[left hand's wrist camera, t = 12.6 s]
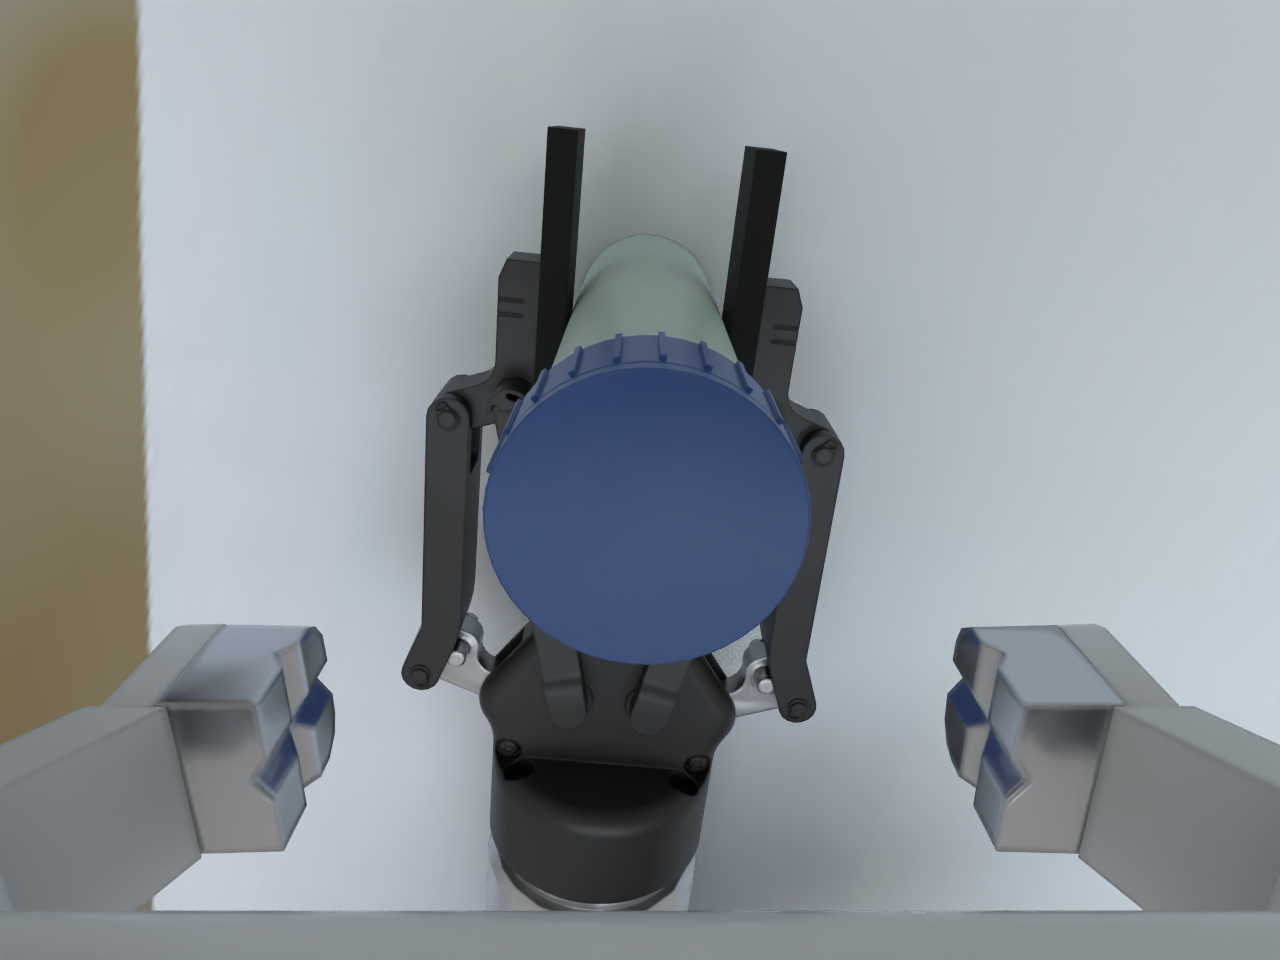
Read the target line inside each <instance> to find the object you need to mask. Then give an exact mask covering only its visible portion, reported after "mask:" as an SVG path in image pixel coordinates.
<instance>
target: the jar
mask: <svg viewBox="0 0 1280 960" xmlns="http://www.w3.org/2000/svg"><path fill="white" fill-rule="evenodd" d="M658 332H665V336H668V337H674V338H679V339H684V340H688V341H691V342H694V343H697V344H699V343H700V341H704V342H706V343H707V346H708V348H709V349H712V350H714V351H716V352H718V353H720V354H722V355H723V356H725V357H726V358H728V359H729V360H731V361H733V362H734V363H736V362H737V361H738V360H737V357H736V355H735V352H734V349H733V347H732V344H731V342H730V339H729V336H728V334H727V331H726V329H725V326H724V323H723V321H722V318H721V316H720V313H719V310H718V308H717V305H716V303H715V300H714V297H713V295H712V292H711V290H710V287H709V284H708V282H707V279H706V277H705V274H704V272H703V270H702V268H701V266H700V265H699V263H698V262H697V260H696V259H695V258H694V257H693V255H692V254H691V253H690V252H688V251H687V250H686V249H685V248H684V247H682V246H681V245H679V244H678V243H676V242H674V241H672V240H670V239H667V238H664V237H660V236H655V235H636V236H631V237H627V238H624V239H622V240H619V241H617V242H615V243H613V244H612V245H610V246H609V247H607V248H606V249H605V250H604V251H603V252H602V253H600V254H599V255H598V257H597V258H596V259H595V260H594V262H593V263H592V265H591V266H590V268H589V270H588V272H587V274H586V277H585V279H584V282H583V285H582V287H581V290H580V293H579V295H578V298H577V301H576V304H575V306H574V309H573V312H572V314H571V317H570V320H569V322H568V325H567V328H566V330H565V333H564V336H563V339H562V341H561V344H560V347H559V349H558V352H557V355H556V357H555V360H554V363H553V366H552V367H554V366H555V365H556V364H558V363H559V362H561V361H562V360H564V359H565V358H567V357H568V356H570V355H572V354H573V353H574V350H575V348H576V347H578V346H581V347H582V349H584V348H586V347H588V346H591V345H594V344H597V343H599V342H602V341H605V340H610V339H615V334H619V333H622V337H624V336H636V335H658Z"/></svg>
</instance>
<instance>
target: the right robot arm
mask: <svg viewBox="0 0 1280 960" xmlns="http://www.w3.org/2000/svg"><path fill="white" fill-rule="evenodd" d="M584 140H585V129H582V128H573V127H564V126H551V127H548V133H547V151H546V169H545V187H544V205H543V223H542V242H541V254H534V253H524V252H513V253H512V254H511V255H510V256H509V257H508V258H507V260H506V262H505V264H504V266H503V269H502V271H501V273H500V275H499V281H498V308H497V312H498V314H497V334H496V361H495V367H493V368H492V369H490V370H488V371H486V372H482V373H478V374H474V375H470V376H468V375H465V374H464V375H456V376H454V377H453V378H451V379H450V380H449V381H448V382H447V384H446V385H445V386H444V387H443V389H442V390H441V391H440V393H439V394H438V395H437V397H436V398H435V400H434V401H433V403H432V404H431V405H430V407H429V408H428V411H427V415H426V453H425V497H424V542H423V586H422V624H421V626H420V628H419V631H418V633H417V635H416V637H415V640H414V642H413V644H412V646H411V649H410V651H409V653H408V655H407V658H406V660H405V662H404V665H403V667H402V672H401V674H402V678H403V680H404V681H405V682H406V684H407V685H409V686H411V687H412V688H415V689H419V690H425V689H429V688H431V687H433V686H435V684H436V683H437V682H438V680H439V679H442V680H444V681H447V682H449V683H452V684H454V685H457V686H459V687H462V688H464V689H467V690H469V691H471V692H474V693H476V694H479V699H480V705H481V709H482V711H483V713H484V714H485V716H486V718H487V719H488V721H489V723H490V725H491V727H492V731H493V737H494V742H493V764H492V787H491V809H490V828H491V836H490V840H489V847H488V881H487V911H688V907H689V901H690V896H691V890H692V884H693V878H694V872H695V862H696V850H697V847H698V844H699V838H700V832H701V826H702V820H703V814H704V808H705V802H706V796H707V790H708V784H709V778H710V772H711V766H712V760H713V755H714V752H715V750H716V748H717V746H718V745H719V743H720V742H721V741H722V740H723V739H724V737H725V736H726V735H727V734H728V733H729V732H730V730H731V729H732V727H733V725H734V722H735V717H739V716H744V715H749V714H753V713H758V712H762V711H767V710H772V709H776V708H779V712H780V714H781V716H782V717H783V718H784V719H786V720H787V721H790V722H794V723H795V722H803V721H806V720H808V719H809V718H810V717H812V716H813V714H814V712H815V710H816V701H815V696H814V692H813V688H812V684H811V679H810V675H809V671H808V667H807V662H806V659H807V653H808V648H809V643H810V637H811V632H812V627H813V621H814V616H815V611H816V605H817V600H818V595H819V589H820V584H821V578H822V573H823V568H824V562H825V557H826V552H827V546H828V541H829V536H830V530H831V525H832V520H833V514H834V509H835V504H836V498H837V493H838V488H839V482H840V477H841V471H842V466H843V461H844V448H843V446H842V444H841V442H840V440H839V438H838V436H837V435H836V433H835V431H834V430H833V428H832V427H831V425H830V423H829V422H828V420H827V418H826V417H825V415H824V414H822V413H821V412H820V411H818V410H815V409H807V408H805V407H802V406H800V405H798V404H796V403H794V402H793V401H791V400H790V399H789V398H788V390H789V384H790V378H791V373H792V367H793V361H794V355H795V349H796V342H797V338H798V332H799V331H798V330H799V326H800V320H801V314H802V303H801V299H800V294H799V290H798V288H797V287H796V286H795V285H794V284H793V282H792V281H791V280H786V279H776V278H768V273H769V267H770V260H771V254H772V248H773V241H774V235H775V228H776V222H777V215H778V209H779V202H780V196H781V189H782V183H783V176H784V170H785V163H786V157H787V152H783V151H779V150H775V149H769V148H760V147H750V146H745V153H744V160H743V167H742V174H741V182H740V189H739V196H738V204H737V211H736V218H735V226H734V233H733V240H732V248H731V255H730V262H729V270H728V277H727V284H726V291H725V299H724V306H723V313H722V321H723V323H724V326H725V329H726V331H727V334H728V336H729V339H730V342H731V344H732V347H733V349H734V352H735V355H736V357H737V360H739V361H740V362H741V363H743V365H744V368H745V370H746V373H748V374H749V375H750V376H751V377H752V378H753V379H754V380H755V381H756V382H757V384H758V385H759V386H760V387H761V388H762V389H763V390H764V391H765V390H766V389H769V391H770V392H771V394H772V396H773V398H774V400H775V403H776V405H777V407H778V409H779V411H780V413H781V416H782V418H783V420H784V423H782V424H786V423H787V424H788V426H789V428H790V430H791V432H792V434H793V436H794V439H795V441H796V443H797V445H798V447H799V449H800V451H801V454H802V456H803V459H804V460H803V461H800V464H801V466H802V469H803V473H804V476H805V479H806V482H807V486H808V490H809V493H810V495H811V501H810V514H811V525H810V532H809V539H808V545H807V549H806V552H805V556H804V559H803V562H802V565H801V567H800V569H799V571H798V574H797V576H796V578H795V580H794V582H793V584H792V585H791V587H790V588H789V590H788V592H787V593H786V595H785V596H784V598H783V599H782V600H781V602H780V603H779V604H778V605H777V606H776V608H775V609H774V610H773V611H772V612H771V613H770V614H769V615H768V616H767V617H766V618H765V619H764V620H763V621H762V622H761V623H760V630H761V635H762V639H755V640H753V641H752V642H751V643H750V645H749V647H748V648H747V649H746V650H745V651H744V654H743V659H742V666H741V668H740V670H739V671H738V672H737V673H736V674H734V675H733V676H730V677H727V676H726V675H725V673H724V672H723V670H722V669H721V667H720V666H719V664H718V663H717V661H716V659H715V658H714V656H713V655H712V653H709V654H707V655H703V656H700V657H697V658H693V659H690V660H685V661H680V662H674V663H669V664H653V665H641V664H626V663H620V662H613V661H608V660H604V659H600V658H597V657H593V656H590V655H587V654H585V653H582V652H580V651H577V650H575V649H572V648H570V647H568V646H566V645H565V644H563V643H561V642H559V641H557V640H555V639H554V638H552V637H551V636H549V635H548V634H547V633H545V632H544V631H542V630H541V629H540V628H538V627H537V626H536V625H535V624H534V623H533V622H532V621H531V620H530V621H529V622H528V623H527V624H526V625H525V626H524V627H523V628H522V629H521V630H520V631H519V632H518V633H517V634H516V635H515V636H514V637H513V638H512V639H511V640H510V641H509V643H508V644H507V645H506V646H505V647H504V648H503V649H502V650H501V651H500V652H499V653H498V654H497V655H496V656H495V657H494V656H493V655H491V654H489V653H488V652H487V651H486V650H485V648H484V646H483V642H482V641H483V634H484V631H483V627H482V625H481V623H480V622H479V621H478V618H477V616H476V615H475V614H473V613H467V611H468V608H469V605H470V603H471V599H472V595H473V591H474V583H475V569H476V549H477V528H478V507H479V487H480V466H481V445H482V426H486V425H490V424H494V423H495V424H496V429H497V434H498V439H499V440H500V438H501V436H502V434H503V433H502V432H503V430H504V428H505V425H506V423H507V421H508V419H509V417H510V414H511V412H512V410H513V408H514V405H515V403H516V402H517V400H518V399H521V400H522V401H523V400H524V398H525V396H526V395H527V393H528V392H529V391H530V390H531V389H532V387H533V386H534V385H535V384H536V383H537V380H538V378H539V375H540V373H541V371H542V370H543V369H544V368H546V369H547V370H548V371H549V370H550V369H551V368H552V366H553V363H554V360H555V357H556V355H557V352H558V349H559V347H560V344H561V341H562V339H563V336H564V333H565V330H566V328H567V325H568V322H569V320H570V317H571V314H572V311H573V296H574V282H575V268H576V254H577V240H578V225H579V211H580V197H581V183H582V169H583V155H584ZM504 435H505V434H504Z"/></svg>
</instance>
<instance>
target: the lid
mask: <svg viewBox="0 0 1280 960" xmlns="http://www.w3.org/2000/svg"><path fill="white" fill-rule="evenodd" d="M782 423H784V420H783V418H782V416H781V413H780V411H779V409H778V407H777V405H776V403H775V400H774V398H773V396H772V394H771V392H770V391H769V389H766V390H765V391H764V390H763V389H762V388H761V387H760V386H759V385H758V384H757V382H756V381H755V380H754V379H753V378H752V377H751V376H750V375H749V374H748V373H746V370H745V368H744V365H743V363H741V362H740V361H739V360H738V361H737V362H736V363H734V362H733V361H731V360H729V359H728V358H726V357H725V356H723V355H722V354H720V353H718V352H716V351H714V350H712V349H709V348H708V346H707V343H706V342H704V341H700V343H699V344H697V343H694V342H691V341H688V340H684V339H679V338H674V337H668V336H665V332H658V335H636V336H624V337H622V333H619V334H615V339H610V340H605V341H602V342H599V343H597V344H594V345H591V346H588V347H586V348H584V349H582V347H581V346H578V347H576V348H575V350H574V353H573V354H572V355H570V356H568V357H567V358H565V359H564V360H562V361H561V362H559V363H558V364H556V365H555V366H554V367H552V368H551V369H550V370H549V371H548V370H547V369H546V368H544V369H543V370H542V371H541V373H540V375H539V378H538V380H537V383H536V384H535V385H534V386H533V387H532V389H531V390H530V391H529V392H528V393H527V395H526V396H525V398H524V400H523V401H522V400H521V399H518V400H517V402H516V403H515V405H514V408H513V410H512V412H511V414H510V417H509V419H508V421H507V423H506V425H505V428H504V430H503V432H502V433H503V434H502V436H501V438H500V440H499V442H498V445H497V447H496V449H495V451H494V454H493V456H492V458H491V460H490V462H489V465H488V467H487V471H486V472H488V473H490V475H489V478H488V482H487V485H486V489H485V497H484V505H483V529H484V535H485V541H486V547H487V550H488V554H489V557H490V560H491V563H492V566H493V568H494V570H495V572H496V575H497V577H498V579H499V581H500V583H501V585H502V586H503V588H504V589H505V591H506V592H507V594H508V595H509V597H510V598H511V600H512V601H513V602H514V603H515V605H516V606H517V607H518V608H519V609H520V610H521V612H522V613H523V614H524V615H525V616H526V617H527V618H528V619H529V620H531V621H532V622H533V623H534V624H535V625H536V626H537V627H538V628H540V629H541V630H542V631H544V632H545V633H547V634H548V635H549V636H551V637H552V638H554V639H555V640H557V641H559V642H561V643H563V644H565V645H566V646H568V647H570V648H572V649H575V650H577V651H580V652H582V653H585V654H587V655H590V656H593V657H597V658H600V659H604V660H608V661H613V662H620V663H626V664H641V665H653V664H669V663H674V662H680V661H685V660H690V659H693V658H697V657H700V656H703V655H707V654H709V653H711V652H714V651H716V650H719V649H721V648H723V647H725V646H727V645H729V644H731V643H732V642H734V641H736V640H738V639H740V638H741V637H743V636H744V635H746V634H747V633H748V632H750V631H751V630H752V629H754V628H755V627H756V626H758V625H759V624H760V623H761V622H762V621H763V620H764V619H765V618H766V617H767V616H768V615H769V614H770V613H771V612H772V611H773V610H774V609H775V608H776V606H777V605H778V604H779V603H780V602H781V600H782V599H783V598H784V596H785V595H786V593H787V592H788V590H789V588H790V587H791V585H792V584H793V582H794V580H795V578H796V576H797V574H798V571H799V569H800V567H801V565H802V562H803V559H804V556H805V552H806V549H807V545H808V539H809V532H810V525H811V514H810V501H811V495H810V493H809V490H808V486H807V482H806V479H805V476H804V473H803V469H802V466H801V464H800V461H803V460H804V459H803V456H802V454H801V451H800V449H799V447H798V445H797V443H796V441H795V439H794V436H793V434H792V432H791V430H790V428H789V426H788V424H787V423H786V424H782ZM504 434H505V435H504Z"/></svg>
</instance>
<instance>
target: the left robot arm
mask: <svg viewBox="0 0 1280 960" xmlns="http://www.w3.org/2000/svg"><path fill="white" fill-rule="evenodd" d="M326 662H327V656H326V651H325V646H324V641H323V635H322V634H321V633H320V632H319V630H318V629H317V628H316V627H315V626H267V625H228V626H227V625H225V624H202V625H183V626H178V627H175V628H174V629H173V630H172V631H171V633H170V634H169V635H168V636H167V637H166V638H165V639H164V640H163V641H162V642H161V643H160V644H159V645H158V646H157V647H156V648H155V649H154V650H153V651H152V652H151V654H150V655H149V656H148V657H147V658H146V659H145V660H144V661H143V662H142V663H141V664H140V665H139V666H138V667H137V668H136V669H135V670H134V671H133V672H132V674H131V675H130V676H129V677H128V678H127V679H126V680H125V681H124V682H123V683H122V684H121V685H120V686H119V687H118V688H117V689H116V690H115V691H114V692H113V693H112V694H111V696H110V697H109V698H108V699H107V700H106V701H105V702H104V703H103V704H102V705H101V706H88V707H83V708H81V709H79V710H76V711H74V712H72V713H70V714H68V715H66V716H63V717H61V718H59V719H57V720H54V721H52V722H50V723H48V724H45V725H43V726H41V727H39V728H37V729H34V730H32V731H30V732H28V733H26V734H23V735H21V736H19V737H17V738H14V739H12V740H10V741H8V742H6V743H3V744H1V745H0V960H1280V745H1279V744H1276V743H1274V742H1272V741H1270V740H1268V739H1265V738H1263V737H1261V736H1259V735H1256V734H1254V733H1252V732H1250V731H1248V730H1245V729H1243V728H1241V727H1239V726H1237V725H1234V724H1232V723H1230V722H1228V721H1226V720H1223V719H1221V718H1219V717H1217V716H1215V715H1212V714H1210V713H1208V712H1206V711H1203V710H1201V709H1199V708H1197V707H1193V706H1179V705H1178V704H1177V703H1176V702H1175V701H1174V700H1173V699H1172V698H1171V697H1170V695H1169V694H1168V693H1167V692H1166V691H1165V690H1164V689H1163V688H1162V687H1161V686H1160V685H1159V684H1158V683H1157V682H1156V681H1155V680H1154V679H1153V678H1152V677H1151V675H1150V674H1149V673H1148V672H1147V671H1146V670H1145V669H1144V668H1143V667H1142V666H1141V665H1140V664H1139V663H1138V662H1137V661H1136V660H1135V659H1134V658H1133V657H1132V655H1131V654H1130V653H1129V652H1128V651H1127V650H1126V649H1125V648H1124V647H1123V646H1122V645H1121V644H1120V643H1119V642H1118V641H1117V640H1116V639H1115V638H1114V637H1113V635H1112V634H1111V633H1110V632H1109V631H1108V630H1107V629H1106V628H1104V627H1101V626H1099V625H1096V624H1076V625H1044V626H1004V627H969V628H961V630H960V633H959V635H958V637H957V640H956V644H955V650H954V656H953V662H954V663H955V665H956V667H957V668H958V670H959V672H960V674H961V675H962V677H963V678H962V679H961V680H960V681H959V682H958V683H957V684H956V685H955V686H954V687H953V689H952V690H951V691H950V692H949V693H948V695H947V703H946V712H945V729H946V742H947V746H948V750H949V753H950V757H951V761H952V763H953V765H954V767H955V769H956V771H957V773H958V775H959V777H960V778H962V779H963V780H965V781H966V782H968V783H969V784H971V785H972V786H974V787H975V788H976V792H975V798H974V804H973V806H974V808H975V810H976V812H977V814H978V816H979V818H980V820H981V822H982V824H983V826H984V827H985V829H986V831H987V833H988V835H989V837H990V839H991V841H992V843H993V845H994V847H995V849H996V851H1004V852H1040V853H1077V854H1079V856H1078V857H1079V858H1080V859H1081V860H1082V861H1084V862H1085V863H1086V864H1087V865H1089V866H1090V867H1091V868H1092V869H1094V870H1095V871H1096V872H1097V873H1099V874H1100V875H1101V876H1102V877H1103V878H1105V879H1106V880H1107V881H1108V882H1110V883H1111V884H1112V885H1113V886H1115V887H1116V888H1117V889H1118V890H1120V891H1121V892H1122V893H1123V894H1125V895H1126V896H1127V897H1128V898H1129V899H1131V900H1132V901H1133V902H1134V903H1136V904H1137V905H1138V906H1139V907H1141V908H1142V909H1143V910H1144V911H136V910H137V909H138V908H140V907H141V906H142V905H143V904H145V903H146V902H147V901H148V900H150V899H151V898H152V897H153V896H155V895H156V894H157V893H158V892H160V891H161V890H162V889H163V888H164V887H166V886H167V885H168V884H169V883H171V882H172V881H173V880H174V879H176V878H177V877H178V876H179V875H181V874H182V873H183V872H184V871H186V870H187V869H188V868H189V867H191V866H192V865H193V864H194V863H195V862H197V861H198V860H199V859H200V858H201V854H203V853H238V852H274V851H284V849H285V847H286V845H287V843H288V841H289V839H290V837H291V836H292V834H293V832H294V830H295V828H296V826H297V824H298V822H299V820H300V818H301V816H302V814H303V812H304V810H305V808H306V806H307V804H306V798H305V792H304V788H305V787H306V786H308V785H309V784H311V783H312V782H314V781H315V780H317V779H318V778H319V777H321V775H322V773H323V771H324V769H325V767H326V765H327V762H328V760H329V758H330V754H331V749H332V744H333V739H334V734H335V709H334V702H333V694H332V693H331V692H330V691H329V690H328V689H327V687H326V686H325V685H324V684H323V683H322V682H321V681H320V680H319V679H318V678H317V677H318V675H319V674H320V672H321V670H322V668H323V667H324V665H325V663H326Z"/></svg>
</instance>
